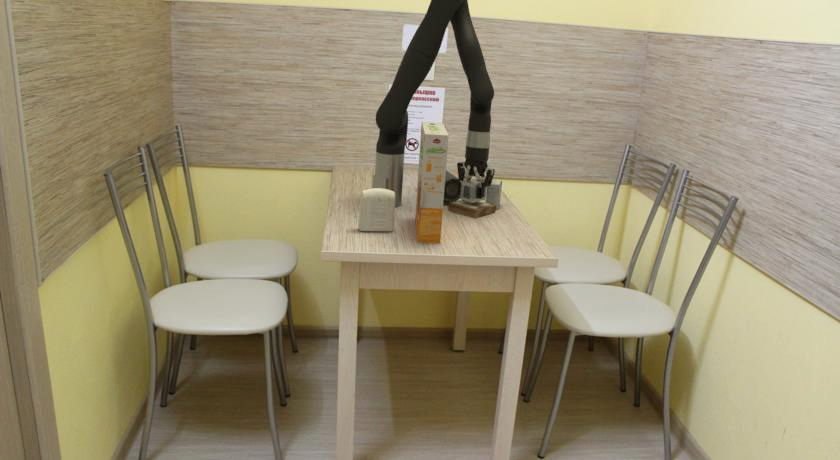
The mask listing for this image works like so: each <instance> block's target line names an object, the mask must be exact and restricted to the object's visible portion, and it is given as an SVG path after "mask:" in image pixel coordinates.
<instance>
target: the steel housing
mask: <svg viewBox="0 0 840 460" xmlns="http://www.w3.org/2000/svg"><path fill="white" fill-rule="evenodd" d="M461 182H462V184H461V196H460V199H459V201H460V200H464V201H468V202H471V203H474V202H478V201H481V202H483V201H486V192H487V187H485V191H484V197H483V198H482V199H478V198H477V195H478V188H479V185H478V181H477V180H476V178H471V180H467V181H461Z"/></svg>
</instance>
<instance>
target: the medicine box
mask: <svg viewBox="0 0 840 460" xmlns="http://www.w3.org/2000/svg"><path fill="white" fill-rule="evenodd" d="M502 187H503V180H502V179H496V178H495V179H494V178H493V179H492V182H491V185H490V186H487V188H486V199H485V203H489V204H492V205H496V209H495V211H498V210H499V208H500V204H501V197H502Z"/></svg>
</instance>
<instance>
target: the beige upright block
mask: <svg viewBox="0 0 840 460" xmlns="http://www.w3.org/2000/svg"><path fill="white" fill-rule="evenodd" d="M395 201H396V198H395V193H394V192H393V191H391V190H388V189H382V188H373V189H372V188H368V189H365V190H362V191H361V195H360V198H359V216H358V230H359V231H360V232H393V231H394V230H395V229H394V227H395V215H396V214H395V213H396V206H395Z"/></svg>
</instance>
